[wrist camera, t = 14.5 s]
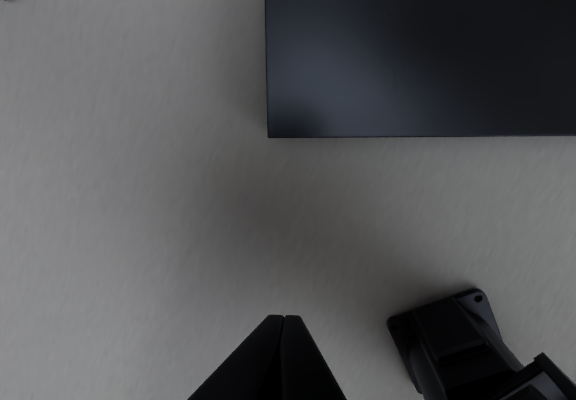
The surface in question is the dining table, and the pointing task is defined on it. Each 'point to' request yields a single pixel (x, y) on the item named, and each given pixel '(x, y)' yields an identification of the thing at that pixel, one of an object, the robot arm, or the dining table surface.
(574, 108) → the laptop screen
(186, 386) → the dining table surface
